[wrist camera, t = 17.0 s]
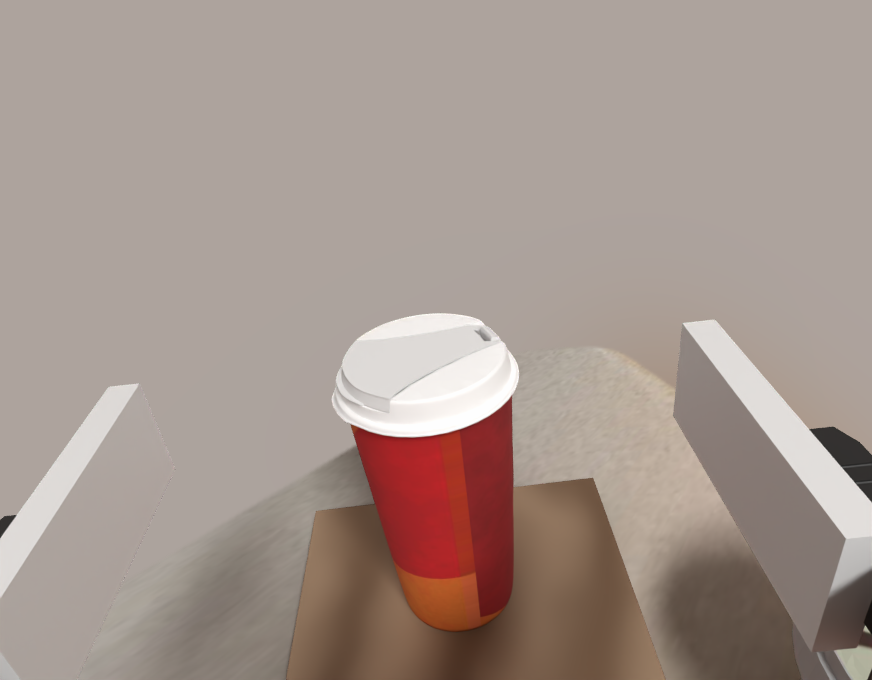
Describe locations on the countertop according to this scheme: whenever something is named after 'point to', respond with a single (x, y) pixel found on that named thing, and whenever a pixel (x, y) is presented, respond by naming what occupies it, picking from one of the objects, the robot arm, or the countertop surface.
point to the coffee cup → (438, 459)
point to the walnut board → (500, 638)
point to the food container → (834, 660)
